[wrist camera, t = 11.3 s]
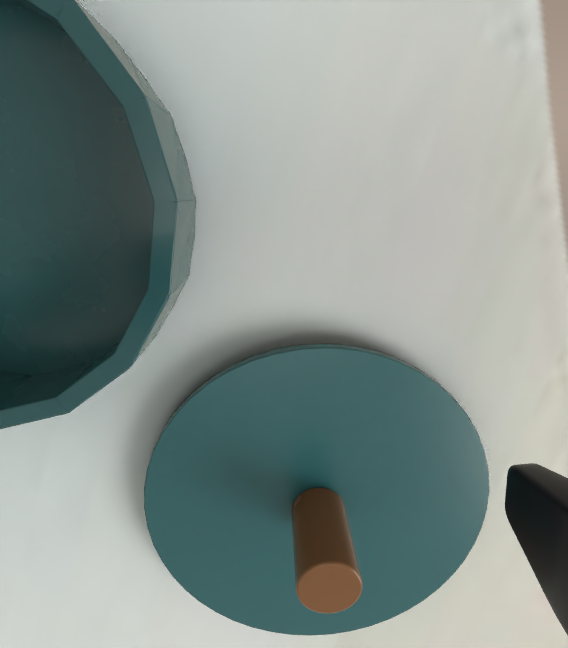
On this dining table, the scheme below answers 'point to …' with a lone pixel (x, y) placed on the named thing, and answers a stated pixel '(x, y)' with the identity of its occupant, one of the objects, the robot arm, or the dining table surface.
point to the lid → (316, 489)
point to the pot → (81, 210)
